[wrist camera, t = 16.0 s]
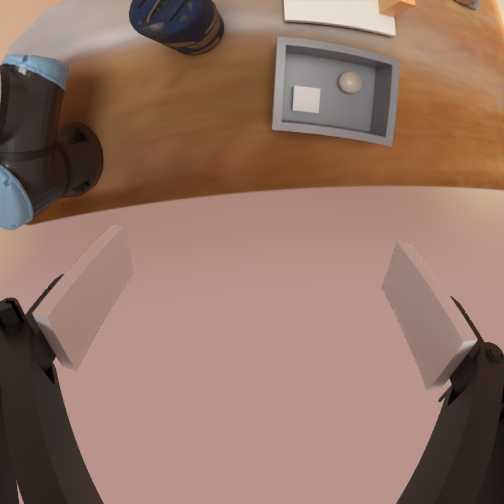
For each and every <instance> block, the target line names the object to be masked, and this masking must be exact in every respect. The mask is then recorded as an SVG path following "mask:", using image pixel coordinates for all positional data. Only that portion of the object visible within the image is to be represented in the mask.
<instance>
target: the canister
mask: <svg viewBox="0 0 504 504" xmlns="http://www.w3.org/2000/svg"><path fill="white" fill-rule="evenodd" d="M129 18H130V22H131V24H132V26H133V28H134V29H135V30H136V31H137V32H138V33H140V34H141V35H143V36H146V37H148V38H150V39H153V40H155V41H157V42H159V43H161V44H163V45H165V46H167V47H170V48H172V49H174V50H177V51H178V52H180V53H184V54H199V53H203V52H206V51H208V50H210V49H211V48H213V47H214V46H215V45H216V44H217V43H218V42H219V40H220V39H221V37H222V34H223V31H224V24H223V20H222V18H221V16H220V14H219V13H218V11H217V9H216V6H215V4H214V2H212V0H133V1H132V3H131V5H130V10H129Z"/></svg>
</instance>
